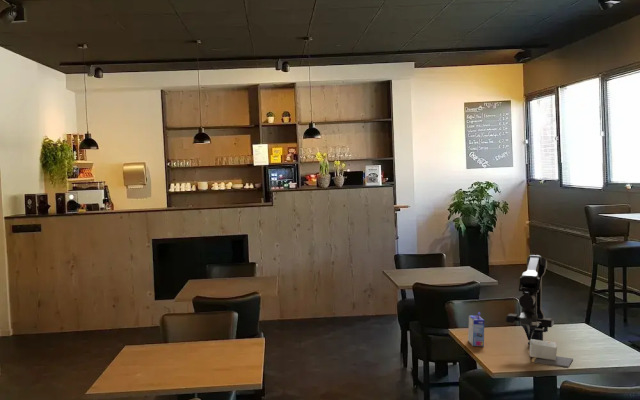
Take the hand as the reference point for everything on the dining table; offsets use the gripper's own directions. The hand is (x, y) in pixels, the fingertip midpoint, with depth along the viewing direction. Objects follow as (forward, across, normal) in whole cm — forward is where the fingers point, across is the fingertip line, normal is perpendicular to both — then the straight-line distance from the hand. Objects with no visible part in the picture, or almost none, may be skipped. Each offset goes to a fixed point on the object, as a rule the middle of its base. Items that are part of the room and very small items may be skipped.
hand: (529, 340), depth 254 cm
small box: (+3, 0, +1) cm, 3 cm away
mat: (+8, +10, 0) cm, 12 cm away
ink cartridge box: (+8, -26, +10) cm, 29 cm away
